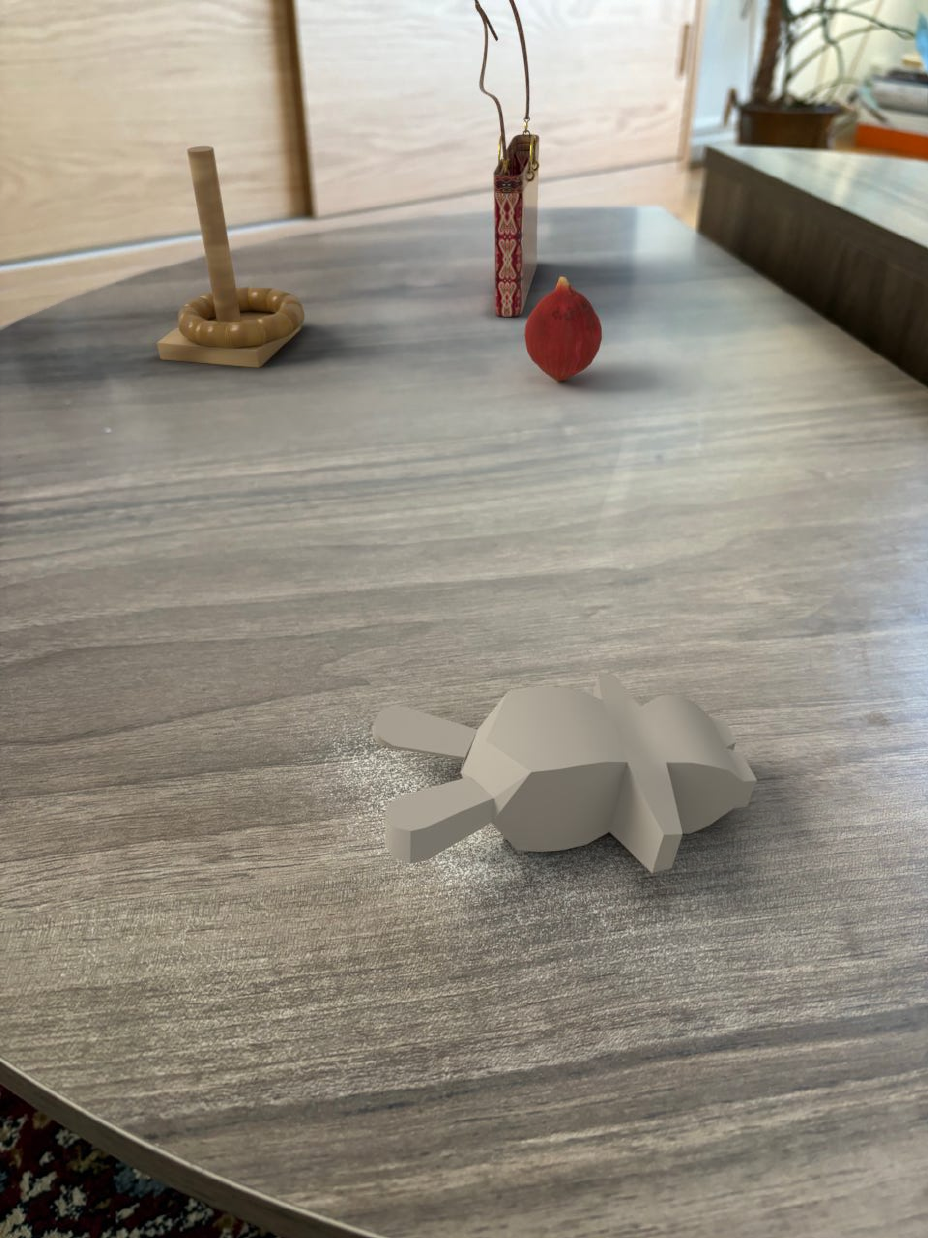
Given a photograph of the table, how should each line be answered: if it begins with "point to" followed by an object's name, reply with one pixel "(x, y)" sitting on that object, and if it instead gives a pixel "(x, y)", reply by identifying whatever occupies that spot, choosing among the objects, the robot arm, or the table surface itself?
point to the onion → (563, 332)
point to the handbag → (514, 200)
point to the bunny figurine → (569, 773)
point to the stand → (216, 277)
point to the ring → (243, 332)
